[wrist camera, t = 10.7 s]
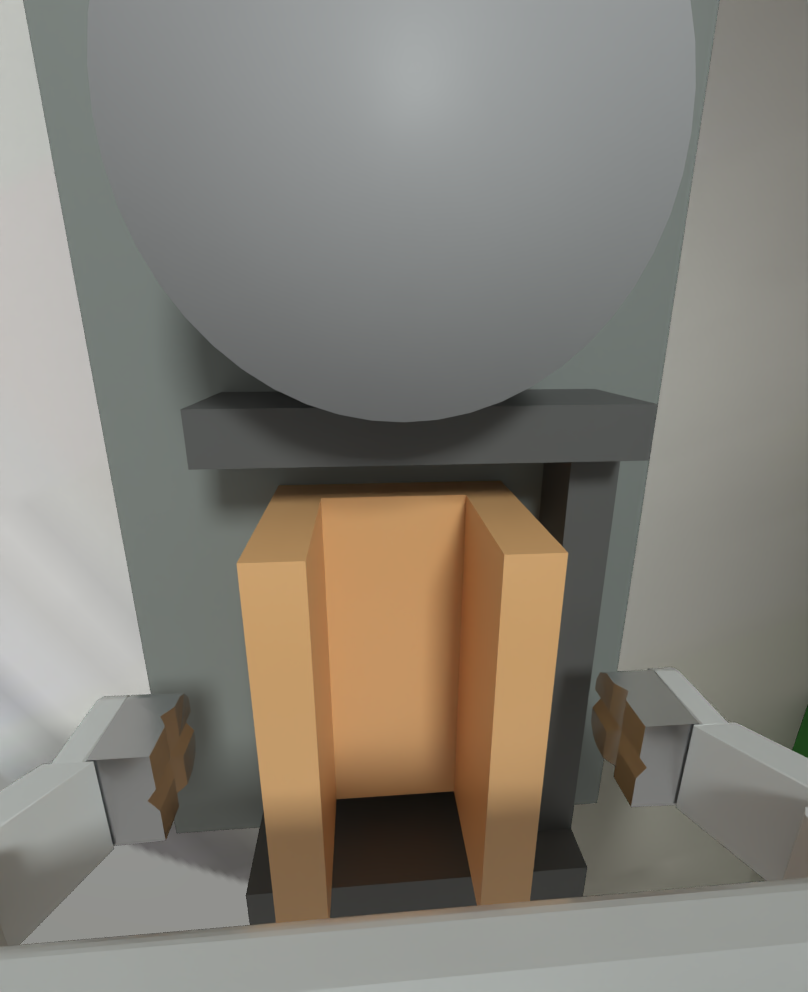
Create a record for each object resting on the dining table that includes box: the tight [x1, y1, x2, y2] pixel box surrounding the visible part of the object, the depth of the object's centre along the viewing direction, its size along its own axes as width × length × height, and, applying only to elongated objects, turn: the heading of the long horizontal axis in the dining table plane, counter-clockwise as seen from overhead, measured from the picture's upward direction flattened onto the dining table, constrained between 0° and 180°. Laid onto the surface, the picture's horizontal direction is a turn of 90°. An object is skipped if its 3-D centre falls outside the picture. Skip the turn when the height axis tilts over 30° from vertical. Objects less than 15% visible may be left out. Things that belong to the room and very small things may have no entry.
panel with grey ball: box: [23, 0, 720, 925], centre depth 11 cm, size 20×12×7 cm, turn 0°
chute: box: [236, 481, 568, 923], centre depth 11 cm, size 8×5×4 cm, turn 0°
